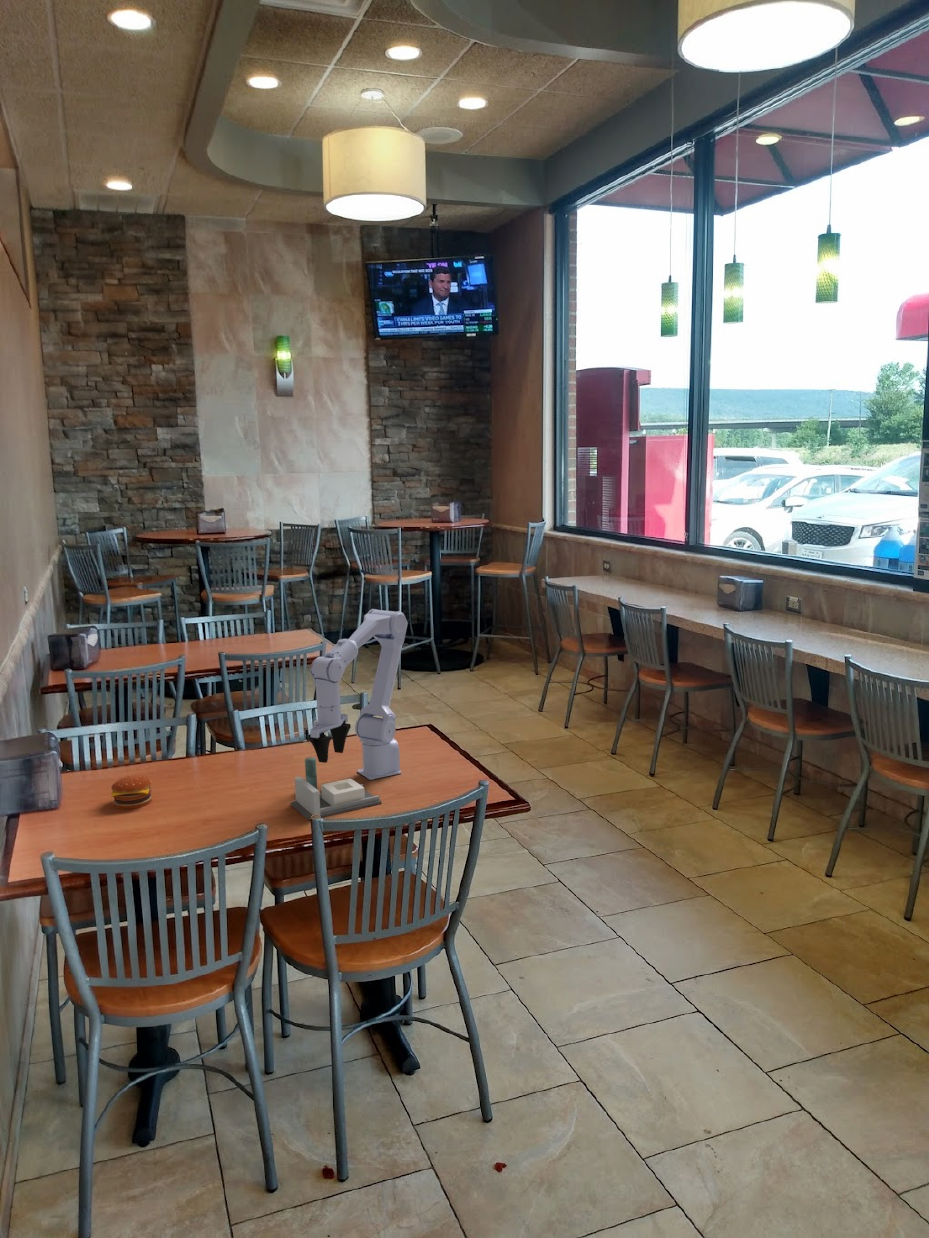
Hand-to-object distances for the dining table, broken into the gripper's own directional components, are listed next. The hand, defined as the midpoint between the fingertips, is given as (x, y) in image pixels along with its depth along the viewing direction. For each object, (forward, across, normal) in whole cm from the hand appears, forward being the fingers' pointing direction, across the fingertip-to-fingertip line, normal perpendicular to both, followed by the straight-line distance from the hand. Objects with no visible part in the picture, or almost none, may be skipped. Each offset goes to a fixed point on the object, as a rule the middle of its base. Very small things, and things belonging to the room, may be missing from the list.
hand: (331, 757), depth 230 cm
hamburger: (+10, +23, -44) cm, 50 cm away
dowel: (+10, -2, -7) cm, 12 cm away
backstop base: (+10, +5, +4) cm, 12 cm away
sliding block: (+9, +4, +5) cm, 11 cm away
